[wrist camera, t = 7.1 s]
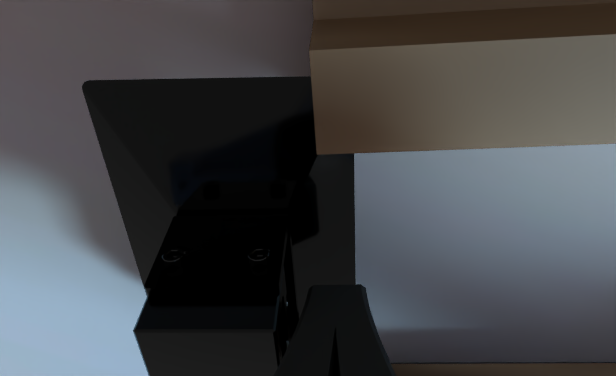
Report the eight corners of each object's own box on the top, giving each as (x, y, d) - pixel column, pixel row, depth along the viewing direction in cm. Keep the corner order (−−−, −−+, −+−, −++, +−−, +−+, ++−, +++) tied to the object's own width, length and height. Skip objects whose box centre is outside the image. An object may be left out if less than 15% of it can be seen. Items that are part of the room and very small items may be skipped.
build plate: (369, 383, 19) (376, 529, 15) (164, 382, 19) (119, 522, 15) (372, 29, 12) (387, 131, 8) (49, 42, 12) (-85, 144, 8)
